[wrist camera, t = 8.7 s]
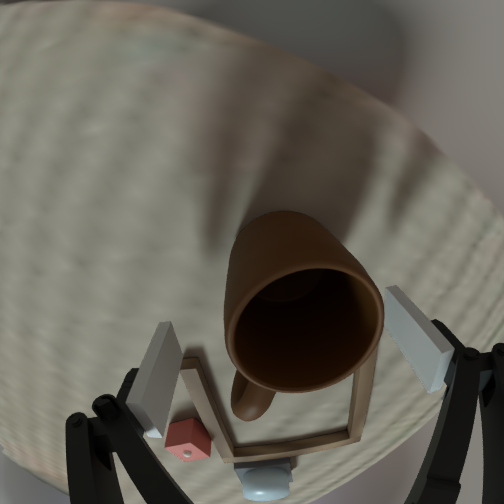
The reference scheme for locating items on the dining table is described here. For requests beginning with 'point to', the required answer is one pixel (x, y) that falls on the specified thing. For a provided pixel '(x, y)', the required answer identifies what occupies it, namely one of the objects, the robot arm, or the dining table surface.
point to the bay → (229, 454)
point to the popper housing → (263, 466)
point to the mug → (295, 311)
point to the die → (188, 440)
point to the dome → (265, 484)
